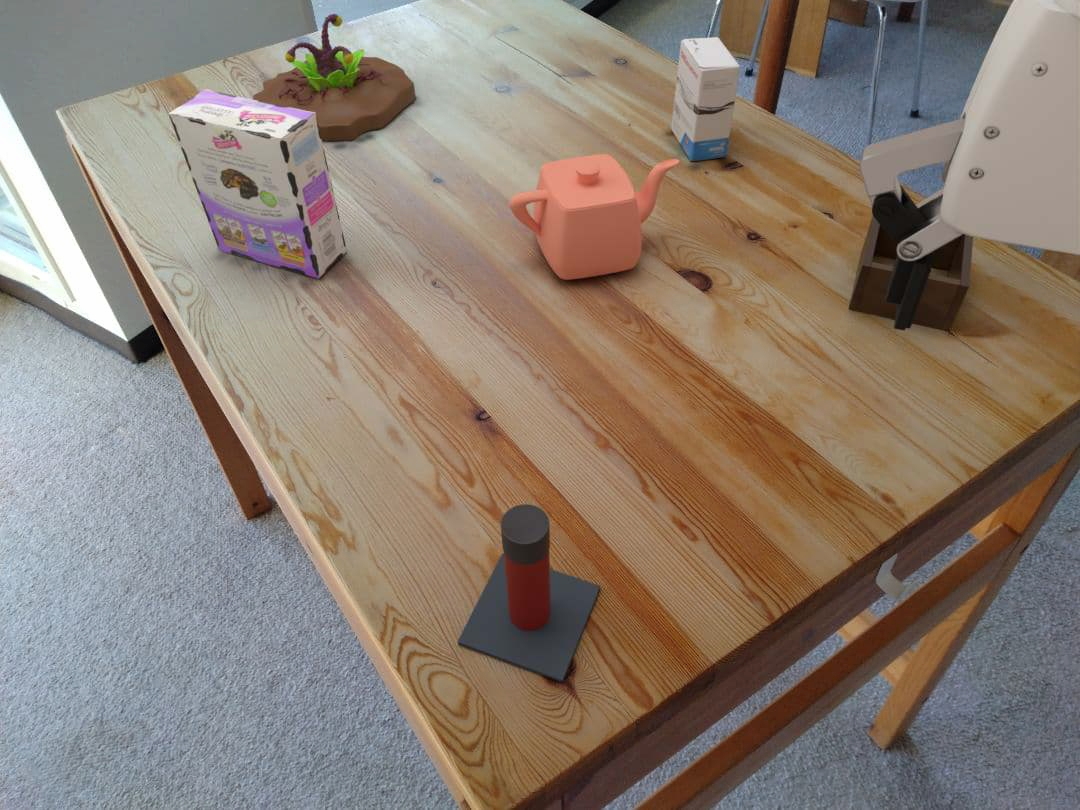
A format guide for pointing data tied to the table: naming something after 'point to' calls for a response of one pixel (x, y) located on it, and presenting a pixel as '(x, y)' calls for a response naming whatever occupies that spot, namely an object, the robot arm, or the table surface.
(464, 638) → the desk pad
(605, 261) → the teapot
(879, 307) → the wooden box
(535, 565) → the marker pen
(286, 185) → the candy box
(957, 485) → the table surface
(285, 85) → the plant
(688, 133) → the ink box
